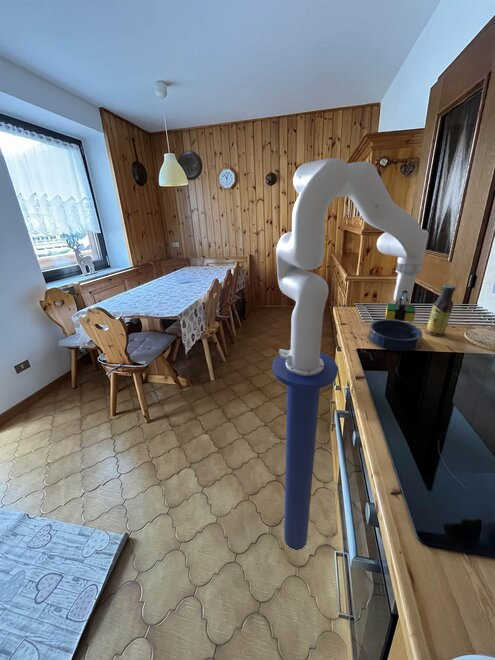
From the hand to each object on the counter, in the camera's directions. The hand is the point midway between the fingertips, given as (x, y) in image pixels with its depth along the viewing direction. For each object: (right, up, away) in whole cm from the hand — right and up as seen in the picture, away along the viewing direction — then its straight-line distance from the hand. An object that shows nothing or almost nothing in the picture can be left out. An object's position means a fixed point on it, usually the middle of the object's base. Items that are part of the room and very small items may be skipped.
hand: (399, 315), depth 104 cm
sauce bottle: (+19, -7, +9) cm, 22 cm away
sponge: (0, -1, 0) cm, 1 cm away
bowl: (0, -10, +5) cm, 11 cm away
